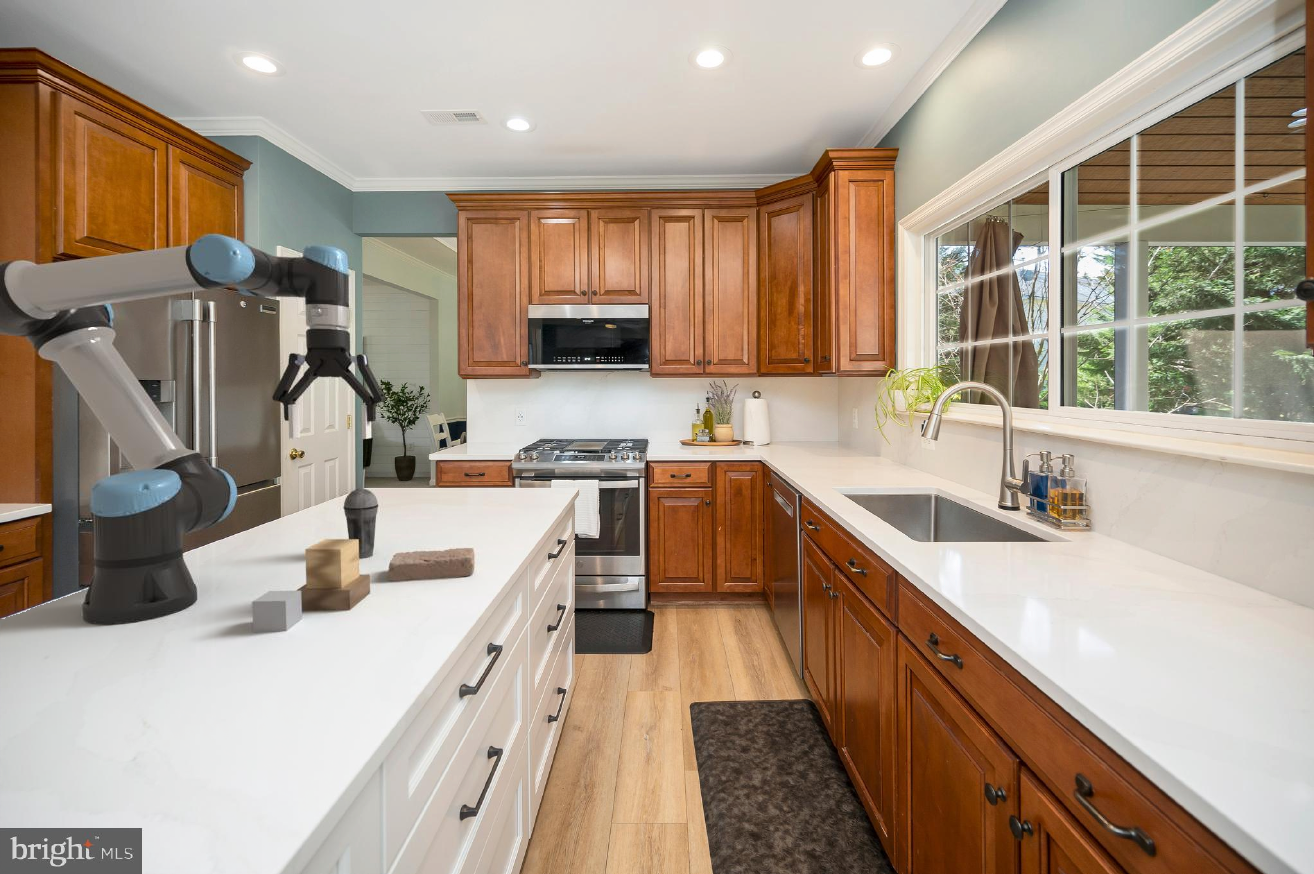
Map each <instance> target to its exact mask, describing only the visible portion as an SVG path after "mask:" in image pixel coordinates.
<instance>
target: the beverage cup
mask: <svg viewBox="0 0 1314 874" xmlns="http://www.w3.org/2000/svg"><path fill="white" fill-rule="evenodd" d="M365 472H366V469H362V470H361V486H360V487H361V488H359V489H358V488H357V489H354V490H352V491H351V492H350V493H348V495H346V497H345V500H344V503H343V510H344V511H343V512H344V515H345V519H346V526H347V527H346V528H347V534H348V535H347V536H348V539H359V559H367V558H371V557H373V556H374V548H375V535H376V523H377V521H376V520H377V514H378V509H379V508H378V507H379V503H378V499H377V497H376V495H375V494H374V493H373V492H372V491H370V490H369V489H367V488H365V474H366V473H365Z"/></svg>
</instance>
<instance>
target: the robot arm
mask: <svg viewBox="0 0 1314 874" xmlns="http://www.w3.org/2000/svg"><path fill="white" fill-rule="evenodd" d="M348 262H349V260H348V255H347V253H346V252H345V251H344V250H342V249H340V248H338V247H334V246H330V245H329V246H328V245H321V244H313V245H306V246H305V247H304V248H303V254H302V256H298V257H296V256H295V257H294V256H292V257H290V256H278V255H277V256H276V255H275V256H274V255H271V254H269V253H267V252H264V251H263V250H260V249H258V248H255V247H253V246H251V245H249V244H246V243H244V242H242V241H241V240H238V239H237V238H235V237H230V236H227V235H223V234H219V233H210V234H209V233H208V234H207V233H206V234H204V235H202V236H201V237H199V238H198V239H196V240H194V242H193V243H192V244H187V245H180V246H174V247H173V246H171V247H163V248H157V249H156V248H155V249H150V250H141V251H134V252H127V253H126V252H125V253H119V254H112V255H111V254H110V255H104V256H95V257H89V258H88V257H86V258H80V259H73V260H72V259H71V260H65V261H64V260H63V261H57V262H56V261H55V262H50V263H49V262H48V263H42V264H37V263H35V262H33V261H30V260H24V259H23V260H13V261H5V262H0V335H5V336H12V337H19V338H20V337H22V338H26V339H27V340H28V342H29V343H30V345H31V347H33V349H34V350H35V351H36V353H37V354H38V355H39V357H40V358H42V359H44V360H47V361H52V362H55V363H57V364H58V365H59V367H60V368H61V370H62V371H63V373H64V374H65V375H66V377H67V378H68V379H69V381H70V382H71V384H72V385H73V387H74V388H75V389H76V391H77V392H78V394H79V395H80V396H81V397H82V399H83V400H84V402H85V403H86V404H87V405H88V407H89V408H90V410H91V411H92V413H93V414H94V416H95V417H96V418H97V419H98V421H99V422H100V424H101V425H102V427H103V428H104V430H106V432H107V433H108V435H109V436H110V438H111V439H112V440H113V442H114V443H115V444H116V445H117V447H118V449H119V450H120V451H121V453H122V454H123V455H124V457H125V458H126V461H127V462H129V463H130V466H131V467H132V468H133V469H134V471H131V472H122V473H117V474H113V475H109V476H106V477H103V478H102V479H99V480H98V481H96V482H95V483H94V484H93V486H92V488H91V492H90V501H89V502H90V503H89V510H90V513H91V525H92V526H91V527H92V529H91V530H92V544H93V545H92V546H93V558H94V560H93V561H94V573H93V574H92V578H91V580H90V583H89V587H88V589H87V591H86V593H85V598H84V600H83V603H82V607H81V610H82V612H81V613H82V619H83V620H84V622H86V623H91V624H98V625H99V624H101V625H103V624H105V625H107V624H108V625H109V624H111V625H112V624H123V623H124V624H125V623H131V622H138V621H145V620H149V619H154V618H158V617H162V616H163V617H164V616H167V615H170V614H173V613H177V612H179V611H182V610H184V609H187V608H188V607H190V606H192V605H193V604H196V602H197V601H198V589H197V588H198V587H197V585H196V583H195V582H194V579H193V577H192V574H191V572H190V570H189V568H188V566H187V564H186V561H185V559H184V549H183V545H184V543H183V536H185V535H189V534H190V533H193V532H197V531H199V530H204V529H208V528H210V527H212V526H214V525H215V524H217V523H219V522H222V521H223V520H224V519H225V518H227V517H228V516H229V515H230V514H231V512H232V511H233V509H234V508H235V505H236V501H237V498H238V489H237V485H236V482H235V481H234V479H233V477H232V476H231V475H230V474H229V473H228V472H227V471H225V470H223V469H221V468H218V467H215V466H213V465H211V466H210V465H209V463H208V462H207V460H206V459H205V458H204V456H203V454H202V453H201V452H200V451H198V450H192V449H189V448H187V447H185V444H183V441H181V439H180V438H179V437H178V434H176V432H175V431H174V430H173V428H172V427H171V425H170V423H169V422H168V420H166V418H165V417H164V415H163V414H162V413H161V411H160V410H159V409H158V407H157V406H156V404H155V402H154V401H153V400H152V398H151V397H150V396H149V394H148V393H147V391H146V390H145V388H144V387H143V386H142V384H141V382H140V381H139V380H138V379H137V377H136V376H135V374H134V373H133V371H132V370H131V368H130V367H129V366H128V365H127V363H126V362H125V360H124V359H123V357H122V355H120V353H119V352H118V350H117V349H116V348H115V346H114V345H113V342H114V341H115V339H116V336H117V334H116V333H117V332H116V331H115V330H114V328H113V326H114V322H113V319H114V317H115V316H114V314H115V313H114V310H113V308H112V305H111V304H115V303H124V302H130V301H137V300H143V299H152V298H158V297H164V296H171V295H179V294H185V293H193V292H199V291H207V290H214V289H215V290H216V289H223V288H231V287H235V288H236V289H237V290H238V292H239V293H240V294H242V295H244V296H251V297H259V298H268V297H269V298H270V297H271V298H272V297H273V298H304V299H305V300H304V303H305V304H304V305H305V326H306V327H309V328H308V329H307V330H305V338H306V339H305V342H306V354H305V355H304V354H300V353H295V352H293V353H292V352H291V353H289V355H288V364H287V366H286V369H285V370H284V372H283V374H282V377H281V379H280V381H279V383H278V385H277V387H276V389H275V391H274V393H273V395H272V396H271V397H272V400H273V402H274V401H275V402H279V403H281V404H282V405H283V418H284V421H285V422H288V437H289V438H288V439H297V438H298V439H299V438H301V419H300V418H301V417H300V415H301V414H300V404H297V401H298V399H300V397H301V396H302V395H303V394H304V393H305V391H306V390H307V389H308V388H309V387H310V386H311V384H312V383H313V382H314V381H315V380H317V379H318V378H341V379H342V380H344V381H345V382H346V383H347V384H348V386H349V387H350V388H351V389H352V390H353V391H354V392H355V393H356V395H357V396H358V397H359V398H360V399H361V400H362V401H363V402H364V403H365V404H364V405H361V406H360V407H361V439H362V440H367V439H372V422H376V420H377V419H376V418H377V417H376V416H377V414H376V413H377V405H378V404H380V403H384V402H385V401H386V398H387V397H386V396H385V394H384V392H383V391H382V388H381V387H380V385H379V383H378V381H377V380H376V377H375V375H374V374H373V372H372V370H371V368H370V365H369V357H368V356H367V355H366V354H359V353H358V354H356V355H353V356H352V355H351V332H349V331H348V329H350V328H351V322H350V321H351V320H350V289H349V288H350V279H349V278H350V277H349V276H350V272H349V264H348ZM304 363H306V364H307V365H308V368H307V369H306V370H305V371H304V373H303V374H302V375H303V376H301V378H299V380H298V381H297V382H296V383H295V385H294V386H293V384H294V382H295V380H296V377H297V376H298V374H299V372H300V370H301V368H302V367H301V366H303V365H304ZM352 363H354V365H355V366H356V367H357V368H358V370H359V373H360V374H361V376H362V378H363V380H364V382H365V384H366V385H367V388H368V389H369V391H370V392H369V391H368V390H367V388H366V387H365V386H364V385H363V384H362V383H361V382H360V381H359V379H357V377H356V376H355V374H354V373H353V372H352V370H350V367H351V365H352ZM292 386H293V387H292Z"/></svg>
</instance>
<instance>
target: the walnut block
mask: <svg viewBox="0 0 1314 874" xmlns="http://www.w3.org/2000/svg"><path fill="white" fill-rule="evenodd" d="M295 591H301V603H302V612H314V611H315V612H317V611H318V612H319V611H325V612H327V611H329V612H330V611H351V610H353V608H355V607H356V606H357V605H358V604H359V603H360V602H362V601H364V599H365V598H366V597H367V596H369V595H370V594H371V575H370V574H368V573H367V574H365V573H364V574H363V573H361V574H359V577H358V578H356V579H355V580H353V581H352V582H350V583H349V584H347V585H346V586H345V587H343V588H342V589H306V584H304V585H302V586H300V587H299V588H297V589H296V590H295Z"/></svg>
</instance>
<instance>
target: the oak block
mask: <svg viewBox="0 0 1314 874" xmlns="http://www.w3.org/2000/svg"><path fill="white" fill-rule="evenodd" d="M304 550H305V554H304V555H305V583H306V589H342V588H343V587H345V586H346V585H347V584H349V583H350V582H352V581H353V580H355V579H356V578H358V577H359V575H360V558H359V539H349V538H347V539H346V538H345V539H344V538H343V539H341V538H338V539H337V538H326V539H323V540H321V541H318V542H317V543H315V544H313V545H311V546H308V547H306V548H305V549H304Z"/></svg>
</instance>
